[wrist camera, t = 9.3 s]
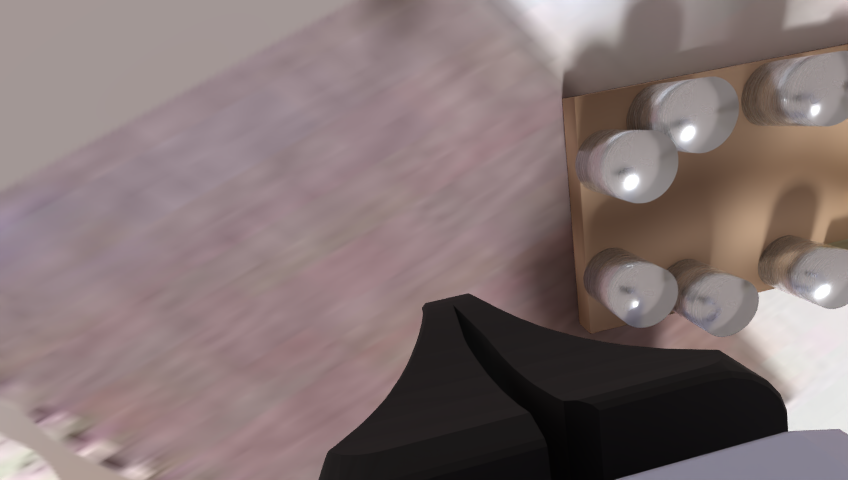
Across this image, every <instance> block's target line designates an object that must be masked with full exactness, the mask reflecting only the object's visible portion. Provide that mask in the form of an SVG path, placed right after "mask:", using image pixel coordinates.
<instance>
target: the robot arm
mask: <svg viewBox="0 0 848 480" xmlns="http://www.w3.org/2000/svg"><path fill="white" fill-rule="evenodd" d="M422 310H423V319H422V324H421V328H420V332H419V336H418V339H417V342H416V345H415V347H414V350H413V352H412V355H411V357H410V359H409V362H408V364H407V366H406V368H405V369H404V371H403V373H402V375H401V377H400V378H399V380H398V381H397V383H396V384H395V386H394V387H393V389H392V390H391V392H390V393H389V395H388V396H387V397H386V399H385V400H384V401H383V402H382V403H381V404H380V405H379V407H378V408H377V409H376V410H375V411H374V412H373V413H372V414H371V415H370V416H369V417H368V418H367V419H366V420H365V421H364V422H363V423H362V424H361V425H360V426H359V427H357V428H356V429H355V430H354V431H353V432H351V433H350V434H349V435H348V436H347V437H345V438H344V439H343V440H342V441H341V442H339V443H338V444H337V445H336V446H334V447H333V448H332V449H330V450H329V451H328V453H327V455H326V458H325V461H324V464H323V467H322V470H321V474H320V477H319V480H848V434H846V433H845V432H843V431H842V430H840V429H830V430H806V431H789V432H788V422H787V410H786V407H785V405H784V402H783V400H782V397H781V395H780V393H779V392H778V391H777V390H776V389H775V388H774V387H773V386H772V385H771V384H770V383H769V382H768V381H767V380H765V379H764V378H762V377H761V376H759V375H757V374H756V373H754V372H753V371H751V370H750V369H748V368H746V367H745V366H743V365H742V364H740V363H739V362H737V361H735V360H734V359H732V358H731V357H729V356H728V355H726V354H724V353H723V352H721V351H720V350H696V349H660V348H649V347H638V346H628V345H620V344H613V343H607V342H601V341H596V340H590V339H585V338H581V337H576V336H572V335H568V334H565V333H561V332H558V331H554V330H550V329H547V328H544V327H541V326H538V325H536V324H533V323H531V322H528V321H525V320H523V319H520V318H518V317H516V316H513V315H511V314H509V313H507V312H505V311H503V310H501V309H498V308H496V307H494V306H492V305H491V304H489V303H487V302H485V301H483V300H481V299H479V298H477V297H475V296H473V295H471V294H463V295H459V296H455V297H450V298H446V299H442V300H438V301H433V302H429V303H425V305H424V306H423V307H422Z"/></svg>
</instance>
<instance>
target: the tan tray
mask: <svg viewBox="0 0 848 480" xmlns="http://www.w3.org/2000/svg"><path fill="white" fill-rule="evenodd" d="M838 51H848V44H844V45H839V46H834V47H828V48H823V49H818V50H813V51H808V52H802V53H797V54H792V55H787V56H782V57H777V58H771V59H766V60H761V61H756V62H751V63H745V64H740V65H735V66H730V67H725V68H719V69H714V70H709V71H704V72H699V73H693V74H688V75H683V76H678V77H673V78H667V79H662V80H657V81H652V82H647V83H642V84H636V85H631V86H626V87H621V88H616V89H610V90H605V91H600V92H595V93H590V94H584V95H579V96H574V97H569V98H564V99H562V102H563V115H564V128H565V141H566V154H567V167H568V180H569V193H570V206H571V219H572V232H573V245H574V258H575V271H576V284H577V297H578V310H579V323H580V324H581V325H582V326H583V327H584V328H585V329H586V330H587V331H588V332H589V333H590V334H592V333H596V332H600V331H604V330H608V329H612V328H616V327H620V326H624V325H628V324H627V323H625V322H624V321H623V320H621V319H620V318H619V317H617V316H616V315H615V314H613V313H612V312H611V311H610V310H608V309H607V308H606V307H604V306H603V305H602V304H600V303H599V302H598V301H596V300H595V299H594V298H592V297H591V296H590V295H589V294H588V293H587V291H586V289H585V287H584V282H583V276H584V271H585V269H586V266H587V264H588V263H589V261H590V260H591V259H592V258H593V257H594V256H595V255H596V254H598V253H599V252H601V251H603V250H605V249H608V248H621V249H624V250H626V251H628V252H630V253H633V254H635V255H637V256H639V257H641V258H643V259H645V260H647V261H649V262H651V263H653V264H655V265H658V266H660V267H662V268H664V269H666V270H667V269H668V268H669V267H670V266H671V265H673V264H674V263H676V262H678V261H680V260H683V259H695V260H698V261H700V262H703V263H705V264H708V265H710V266H712V267H715V268H717V269H720V270H722V271H725V272H727V273H730V274H732V275H734V276H737V277H739V278H742V279H744V280H747V281H749V282H750V283H752V284H753V285H754V286H755V288H756V290H757V292H762V291H766V290H770V289H774V287H772V286H769V285H767V284H765V283H764V282H763V281H762V280H761V279H760V277H759V274H758V263H759V259H760V257H761V255H762V253H763V251H764V250H765V248H766V247H767V246H768V245H769V244H770V243H771V242H773V241H774V240H776V239H777V238H779V237H782V236H786V235H793V236H797V237H801V238H805V239H808V240H812V241H816V242H820V243H824V244H828V245H831V246H835V247H839V248H843V249H847V250H848V118H847V119H846V120H844V121H843V122H841V123H839V124H836V125H833V126H758V125H755V124H752V123H751V122H750V121H748V120H747V118H746V117H745V115H744V113H743V111H742V106H741V97H742V91H743V88H744V86H745V83H746V81H747V80H748V78H749V77H750V75H751V74H752V73H753V72H754V71H755V70H756V69H757V68H758V67H760V66H761V65H763V64H765V63H768V62H771V61H778V60H785V59H791V58H798V57H805V56H811V55H818V54H824V53H831V52H838ZM703 77H719V78H722V79H724V80H726V81H727V82H729V83H730V84H731V85H732V86H733V88H734V89H735V91H736V94H737V96H738V101H739V114H738V119H737V122H736V125H735V127H734V129H733V131H732V133H731V134H730V136H729V137H728V138H727V139H726V140H725V141H724V142H723V143H722V144H721V145H720V146H719V147H717V148H715V149H714V150H711V151H709V152H706V153H688V152H678V169H677V173H676V176H675V178H674V180H673V182H672V184H671V185H670V187H669V188H668V189H667V190H666V191H665V192H664V193H663V194H662V195H661V196H660V197H658V198H656V199H655V200H652V201H650V202H647V203H632V202H628V201H625V200H622V199H618V198H615V197H611V196H608V195H605V194H601V193H598V192H594V191H591V190H589V189H587V188H586V187H584V186H583V185H582V183H581V182H580V181H579V179H578V177H577V174H576V169H575V161H576V156H577V153H578V150H579V148H580V146H581V145H582V143H583V142H584V141H585V140H586V139H587V138H588V137H589V136H590V135H592V134H593V133H595V132H597V131H600V130H605V129H619V130H627V123H626V122H627V113H628V109H629V107H630V105H631V103H632V101H633V99H634V98H635V97H636V95H637V94H638V93H639V92H640V91H642V90H643V89H644V88H646V87H648V86H650V85H653V84H659V83H666V82H673V81H681V80H688V79H696V78H703ZM673 313H675V312H674V311H672V310H671V312H670V313H669V314H673ZM669 314H668V315H669Z"/></svg>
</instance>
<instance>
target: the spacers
mask: <svg viewBox="0 0 848 480" xmlns="http://www.w3.org/2000/svg"><path fill="white" fill-rule="evenodd" d="M741 106H742V111H743V113H744V115H745V117H746V118H747V120H748V121H750V122H751V123H752V124H755V125H758V126H833V125H836V124H839V123H841V122H843V121H844V120H846V119H847V118H848V51H838V52H831V53H824V54H818V55H811V56H805V57H798V58H791V59H785V60H778V61H771V62H768V63H765V64H763V65H761V66H760V67H758V68H757V69H756V70H755V71H754V72H753V73H752V74H751V75H750V77H749V78H748V80H747V81H746V83H745V86H744V88H743V91H742V97H741ZM738 114H739V101H738V96H737V94H736V91H735V89H734V88H733V86H732V85H731V84H730V83H729V82H727V81H726V80H724V79H722V78H719V77H703V78H696V79H688V80H681V81H673V82H666V83H659V84H653V85H650V86H648V87H646V88H644V89H643V90H642V91H640V92H639V93H638V94H637V95H636V97H635V98H634V99H633V101H632V103H631V105H630V107H629V109H628V113H627V122H626V123H627V130H619V129H605V130H600V131H597V132H595V133H593V134H592V135H590V136H589V137H588V138H587V139H586V140H585V141H584V142H583V143H582V145H581V146H580V148H579V150H578V153H577V156H576V161H575V169H576V174H577V177H578V179H579V181H580V182H581V183H582V185H583V186H584V187H586V188H587V189H589V190H591V191H594V192H598V193H601V194H605V195H608V196H611V197H615V198H618V199H622V200H625V201H628V202H632V203H647V202H650V201H652V200H655V199H656V198H658V197H660V196H661V195H662V194H663V193H664V192H665V191H666V190H667V189H668V188H669V187H670V185H671V184H672V182H673V180H674V178H675V176H676V173H677V169H678V152H688V153H706V152H709V151H711V150H714V149H715V148H717V147H719V146H720V145H721V144H722V143H723V142H724V141H725V140H726V139H727V138H728V137H729V136H730V134H731V133H732V131H733V129H734V127H735V125H736V122H737V119H738ZM758 274H759V277H760V279H761V280H762V281H763V282H764V283H765V284H767V285H769V286H772V287H774V288H777V289H779V290H782V291H784V292H787V293H789V294H792V295H794V296H797V297H799V298H802V299H804V300H807V301H809V302H812V303H814V304H817V305H819V306H822V307H824V308H828V309H836V308H840V307H842V306H845V305H847V304H848V250H847V249H843V248H839V247H835V246H831V245H828V244H824V243H820V242H816V241H812V240H808V239H805V238H801V237H797V236H793V235H786V236H782V237H779V238H777V239H776V240H774V241H773V242H771V243H770V244H769V245H768V246H767V247H766V248H765V250H764V251H763V253H762V255H761V257H760V259H759V263H758ZM583 282H584V287H585V289H586V291H587V293H588V294H589V295H590V296H591V297H592V298H594V299H595V300H596V301H598V302H599V303H600V304H602V305H603V306H604V307H606V308H607V309H608V310H610V311H611V312H612V313H613V314H615V315H616V316H617V317H619V318H620V319H621V320H623V321H624V322H625V323H627V324H628V325H630V326H633V327H637V328H645V327H650V326H653V325H655V324H657V323H659V322H660V321H662V320H663V319H664V318H665V317H666V316H667V315H668V314H669V313H670V312H671V310H672V311H674V312H675V313H677V314H679V315H680V316H682V317H684V318H685V319H687V320H689V321H690V322H692V323H694V324H695V325H697V326H699V327H700V328H702V329H704V330H705V331H707V332H708V333H710V334H712V335H714V336H718V337H725V336H730V335H733V334H735V333H737V332H739V331H741V330H742V329H743V328H744V327H746V326H747V325H748V324H749V322H750V321H751V320H752V318H753V317H754V315H755V313H756V311H757V307H758V302H759V297H758V292H757V290H756V288H755V286H754V285H753V284H752V283H750V282H749V281H747V280H744V279H742V278H739V277H737V276H734V275H732V274H730V273H727V272H725V271H722V270H720V269H717V268H715V267H712V266H710V265H708V264H705V263H703V262H700V261H698V260H695V259H683V260H680V261H678V262H676V263H674V264H673V265H671V266H670V267H669V268H668V269H667V270H666V269H664V268H662V267H660V266H658V265H655V264H653V263H651V262H649V261H647V260H645V259H643V258H641V257H639V256H637V255H635V254H633V253H630V252H628V251H626V250H624V249H621V248H608V249H605V250H603V251H601V252H599V253H598V254H596V255H595V256H594V257H593V258H592V259H591V260H590V261H589V263H588V264H587V266H586V269H585V271H584V276H583Z"/></svg>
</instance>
